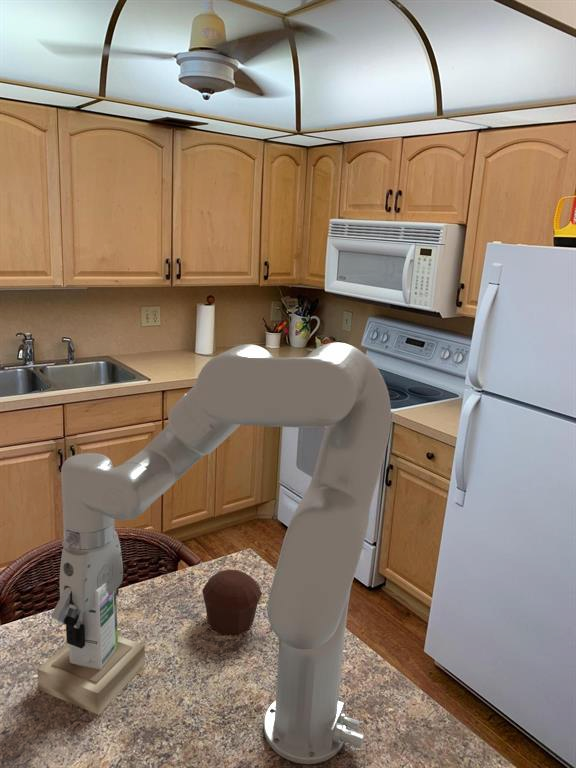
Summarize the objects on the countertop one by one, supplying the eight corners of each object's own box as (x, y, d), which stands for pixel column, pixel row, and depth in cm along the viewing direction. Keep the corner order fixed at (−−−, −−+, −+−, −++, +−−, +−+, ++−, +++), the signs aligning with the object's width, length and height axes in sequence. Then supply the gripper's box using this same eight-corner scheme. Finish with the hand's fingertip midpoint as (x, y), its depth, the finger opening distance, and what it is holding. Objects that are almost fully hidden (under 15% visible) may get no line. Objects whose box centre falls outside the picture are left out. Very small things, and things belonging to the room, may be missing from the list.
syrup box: (101, 671, 92) (99, 591, 89) (67, 663, 93) (64, 584, 90) (118, 647, 98) (117, 571, 94) (86, 641, 99) (84, 565, 95)
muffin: (190, 616, 113) (191, 571, 111) (236, 596, 120) (238, 554, 118) (224, 650, 105) (225, 602, 102) (271, 627, 112) (274, 581, 109)
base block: (144, 664, 100) (144, 643, 99) (98, 715, 89) (98, 692, 88) (89, 644, 104) (88, 624, 103) (38, 689, 93) (37, 667, 92)
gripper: (68, 565, 81) (73, 672, 85) (142, 514, 97) (143, 607, 101) (27, 552, 83) (34, 657, 88) (106, 505, 99) (108, 595, 104)
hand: (92, 629), depth 94 cm, fingers open, 7 cm apart
